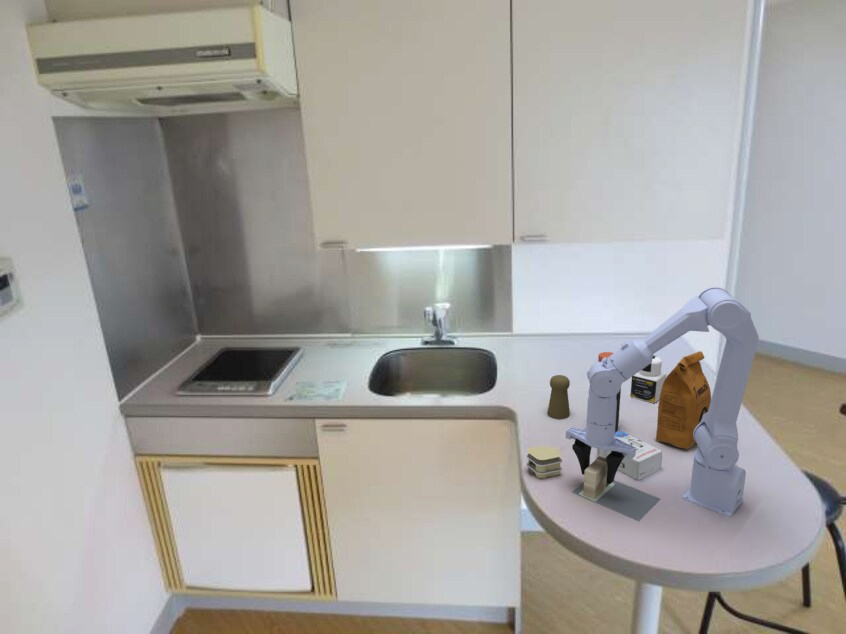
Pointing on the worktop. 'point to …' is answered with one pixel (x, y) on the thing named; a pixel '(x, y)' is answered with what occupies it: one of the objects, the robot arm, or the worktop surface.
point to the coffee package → (683, 402)
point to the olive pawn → (559, 397)
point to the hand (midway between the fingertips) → (597, 477)
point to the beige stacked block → (544, 461)
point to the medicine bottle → (648, 382)
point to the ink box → (637, 457)
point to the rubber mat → (623, 499)
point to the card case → (595, 478)
